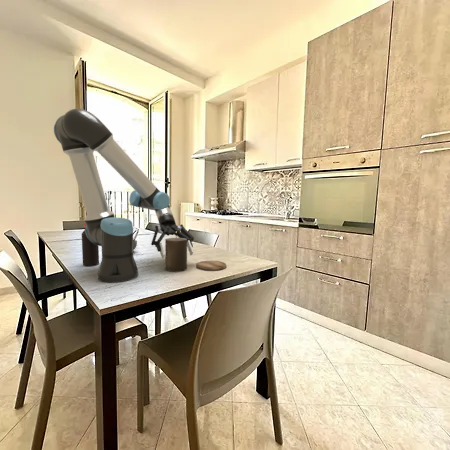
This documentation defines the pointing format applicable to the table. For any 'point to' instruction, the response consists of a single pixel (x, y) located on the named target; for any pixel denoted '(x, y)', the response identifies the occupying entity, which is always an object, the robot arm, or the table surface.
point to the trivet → (211, 265)
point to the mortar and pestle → (134, 244)
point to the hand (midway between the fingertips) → (178, 255)
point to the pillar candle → (176, 254)
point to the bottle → (89, 251)
